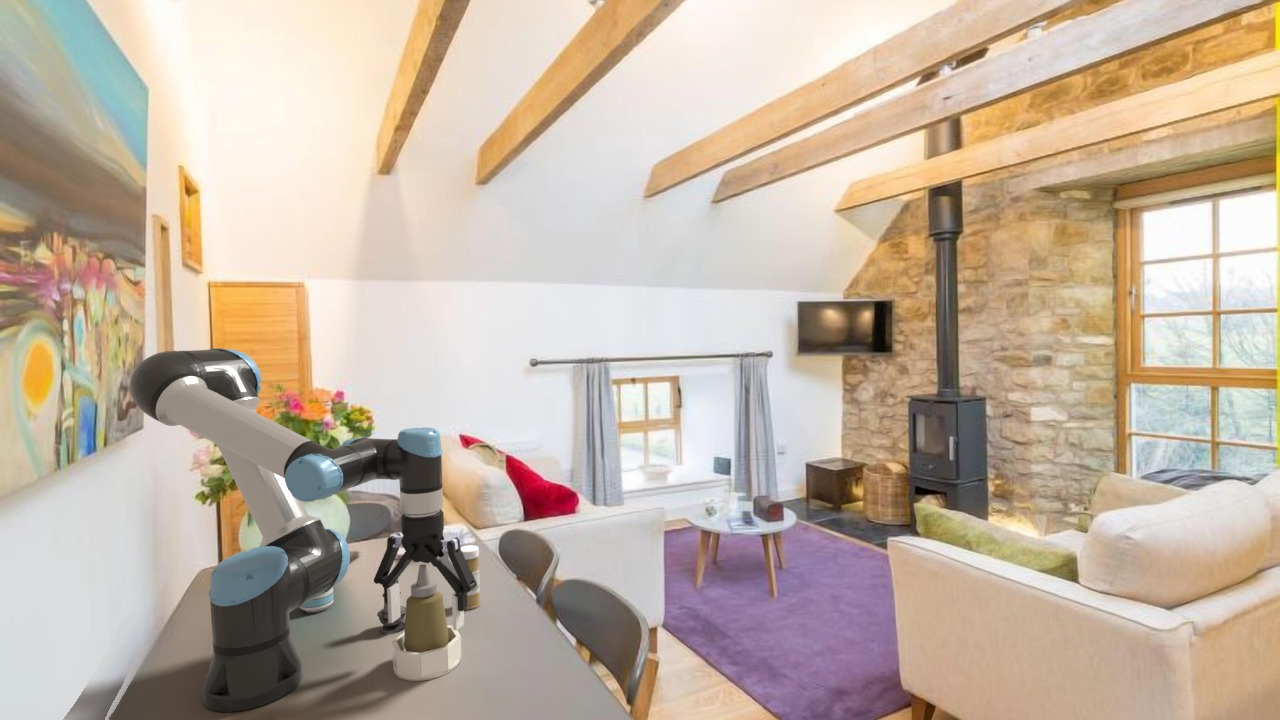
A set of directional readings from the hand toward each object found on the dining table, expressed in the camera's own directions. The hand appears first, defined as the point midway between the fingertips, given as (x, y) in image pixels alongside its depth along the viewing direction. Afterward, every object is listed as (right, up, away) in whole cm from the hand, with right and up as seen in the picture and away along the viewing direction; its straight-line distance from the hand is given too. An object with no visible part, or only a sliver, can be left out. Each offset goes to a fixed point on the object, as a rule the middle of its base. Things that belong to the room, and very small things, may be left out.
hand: (426, 623), depth 121 cm
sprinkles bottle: (+2, -7, +26) cm, 26 cm away
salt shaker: (-12, -7, +15) cm, 21 cm away
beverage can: (-33, -7, +26) cm, 43 cm away
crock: (0, -8, 0) cm, 8 cm away
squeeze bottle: (0, -7, 0) cm, 7 cm away
